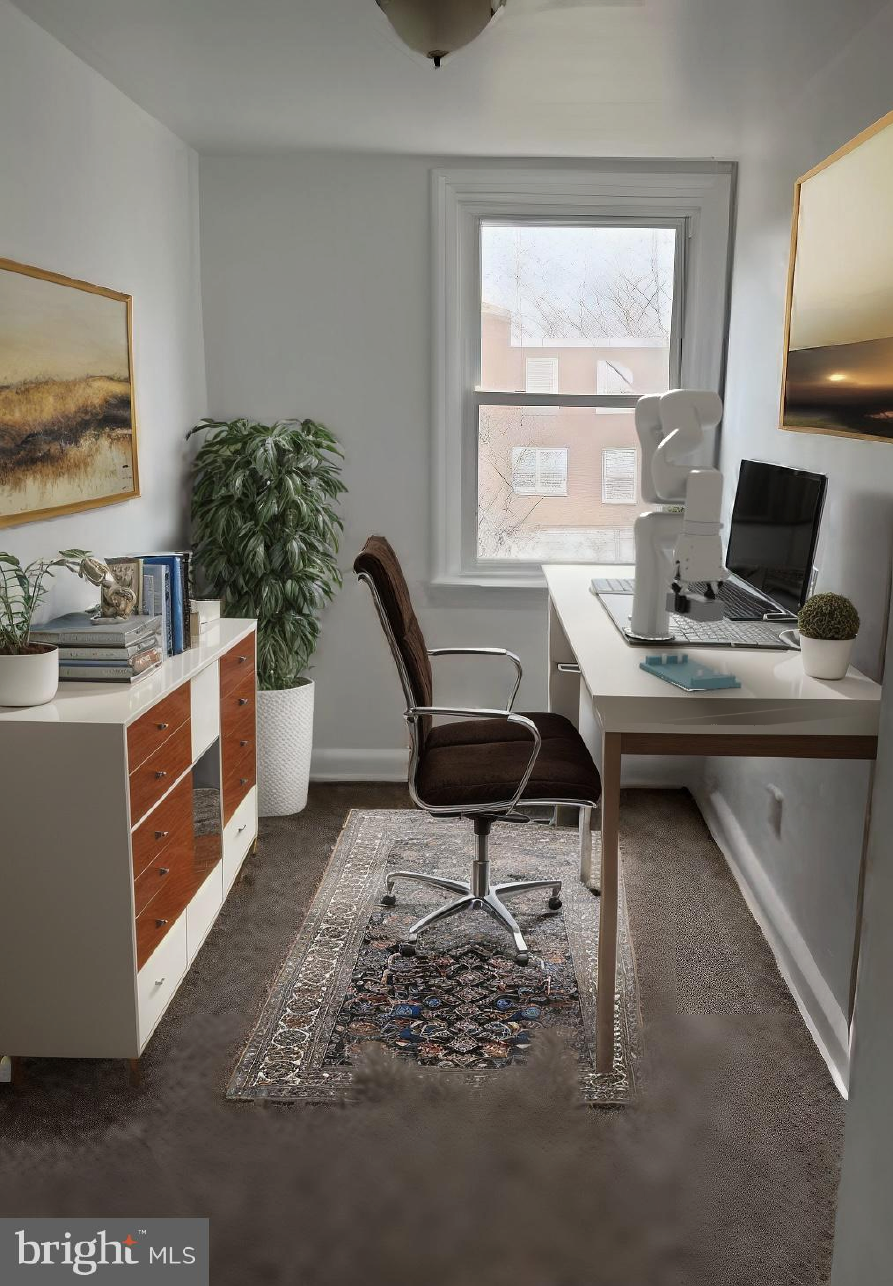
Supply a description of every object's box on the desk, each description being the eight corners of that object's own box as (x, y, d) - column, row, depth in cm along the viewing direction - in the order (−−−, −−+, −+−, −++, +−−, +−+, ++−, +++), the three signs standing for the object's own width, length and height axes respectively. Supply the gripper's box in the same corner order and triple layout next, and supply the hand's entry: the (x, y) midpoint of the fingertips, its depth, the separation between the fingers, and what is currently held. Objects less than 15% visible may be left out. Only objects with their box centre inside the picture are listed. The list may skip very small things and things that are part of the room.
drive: (665, 610, 229) (666, 592, 228) (687, 608, 231) (688, 590, 230) (700, 622, 218) (702, 603, 217) (723, 620, 221) (724, 601, 220)
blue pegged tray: (639, 667, 235) (640, 652, 234) (689, 663, 239) (690, 648, 238) (688, 691, 217) (689, 675, 216) (740, 687, 221) (742, 671, 220)
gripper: (725, 525, 226) (718, 606, 231) (656, 527, 221) (650, 610, 225) (746, 530, 220) (738, 613, 224) (675, 532, 214) (668, 617, 218)
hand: (694, 610), depth 224 cm, fingers closed on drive, 6 cm apart
